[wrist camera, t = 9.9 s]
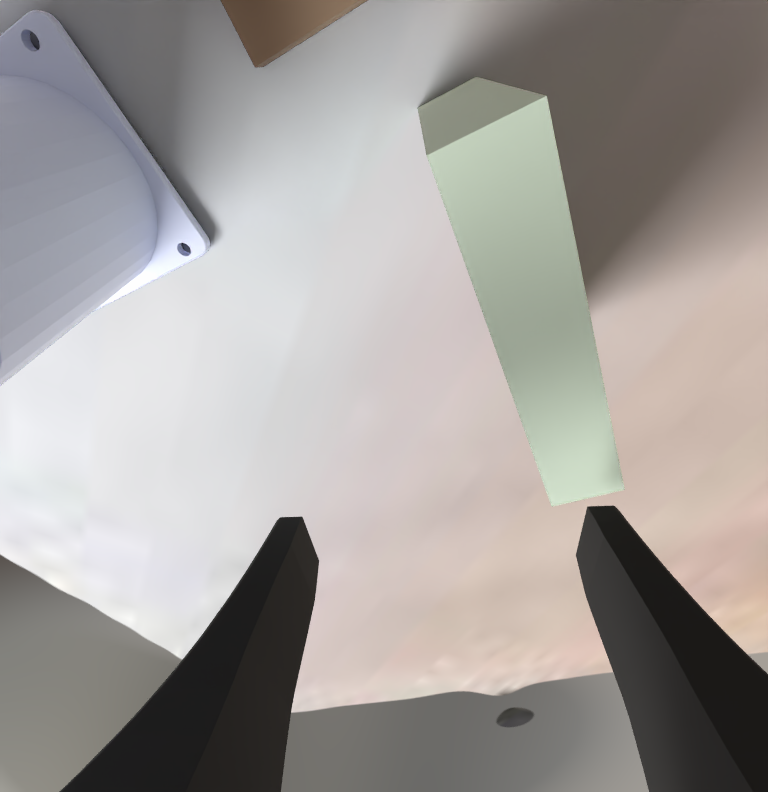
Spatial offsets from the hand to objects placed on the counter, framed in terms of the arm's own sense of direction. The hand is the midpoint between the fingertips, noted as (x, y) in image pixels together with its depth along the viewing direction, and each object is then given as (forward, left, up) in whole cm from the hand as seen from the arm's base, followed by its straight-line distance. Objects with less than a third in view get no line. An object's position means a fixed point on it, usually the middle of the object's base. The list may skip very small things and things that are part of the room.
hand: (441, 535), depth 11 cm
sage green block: (+4, +3, -11) cm, 12 cm away
